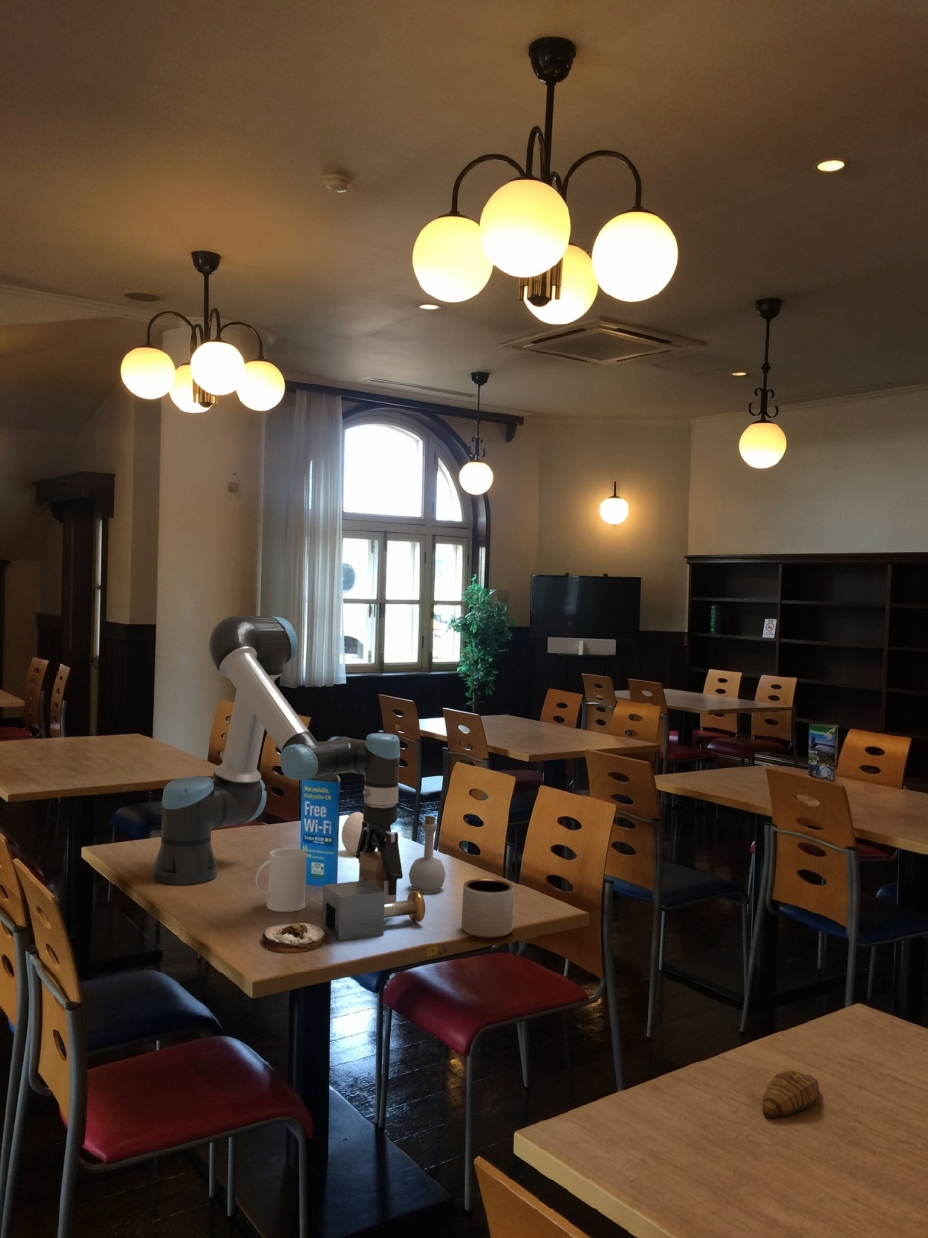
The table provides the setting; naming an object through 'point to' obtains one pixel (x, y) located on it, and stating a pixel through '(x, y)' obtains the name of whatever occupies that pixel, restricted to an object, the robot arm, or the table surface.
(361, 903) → the block
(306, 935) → the cream tart
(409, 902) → the shaft
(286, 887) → the mug
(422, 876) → the potion bottle
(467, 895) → the planter
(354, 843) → the egg
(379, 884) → the spacer
